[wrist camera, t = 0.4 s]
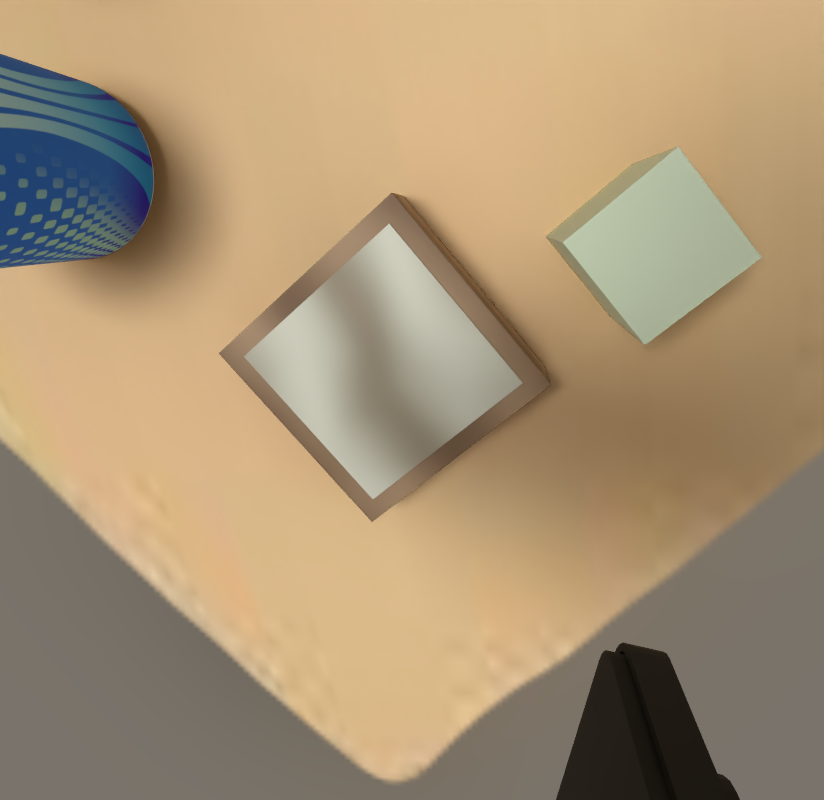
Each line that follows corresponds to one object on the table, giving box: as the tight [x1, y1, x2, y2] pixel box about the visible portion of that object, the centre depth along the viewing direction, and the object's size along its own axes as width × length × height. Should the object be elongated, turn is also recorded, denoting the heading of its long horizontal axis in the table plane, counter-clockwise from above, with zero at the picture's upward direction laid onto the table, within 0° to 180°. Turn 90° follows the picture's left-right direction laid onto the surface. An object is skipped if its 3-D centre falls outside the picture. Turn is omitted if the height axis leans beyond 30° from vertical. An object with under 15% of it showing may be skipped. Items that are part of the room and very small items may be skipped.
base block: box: [219, 193, 551, 522], centre depth 32 cm, size 11×11×4 cm
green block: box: [546, 147, 762, 345], centre depth 28 cm, size 5×5×8 cm
